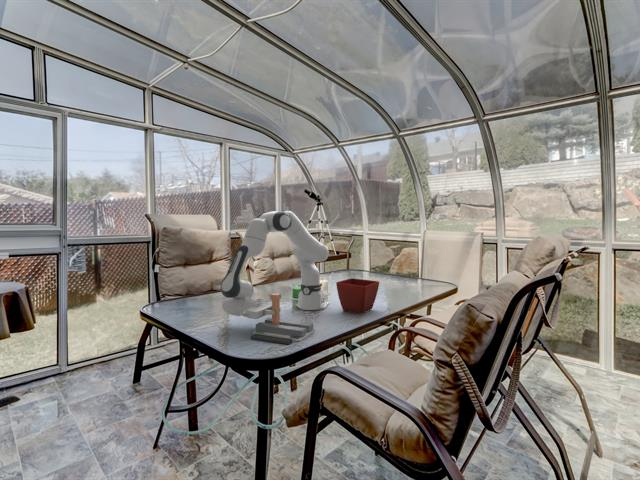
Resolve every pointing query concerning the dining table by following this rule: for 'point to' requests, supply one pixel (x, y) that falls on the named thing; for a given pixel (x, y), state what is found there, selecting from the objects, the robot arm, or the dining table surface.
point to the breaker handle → (276, 307)
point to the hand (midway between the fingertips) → (277, 311)
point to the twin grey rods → (271, 339)
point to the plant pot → (357, 294)
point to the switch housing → (285, 329)
